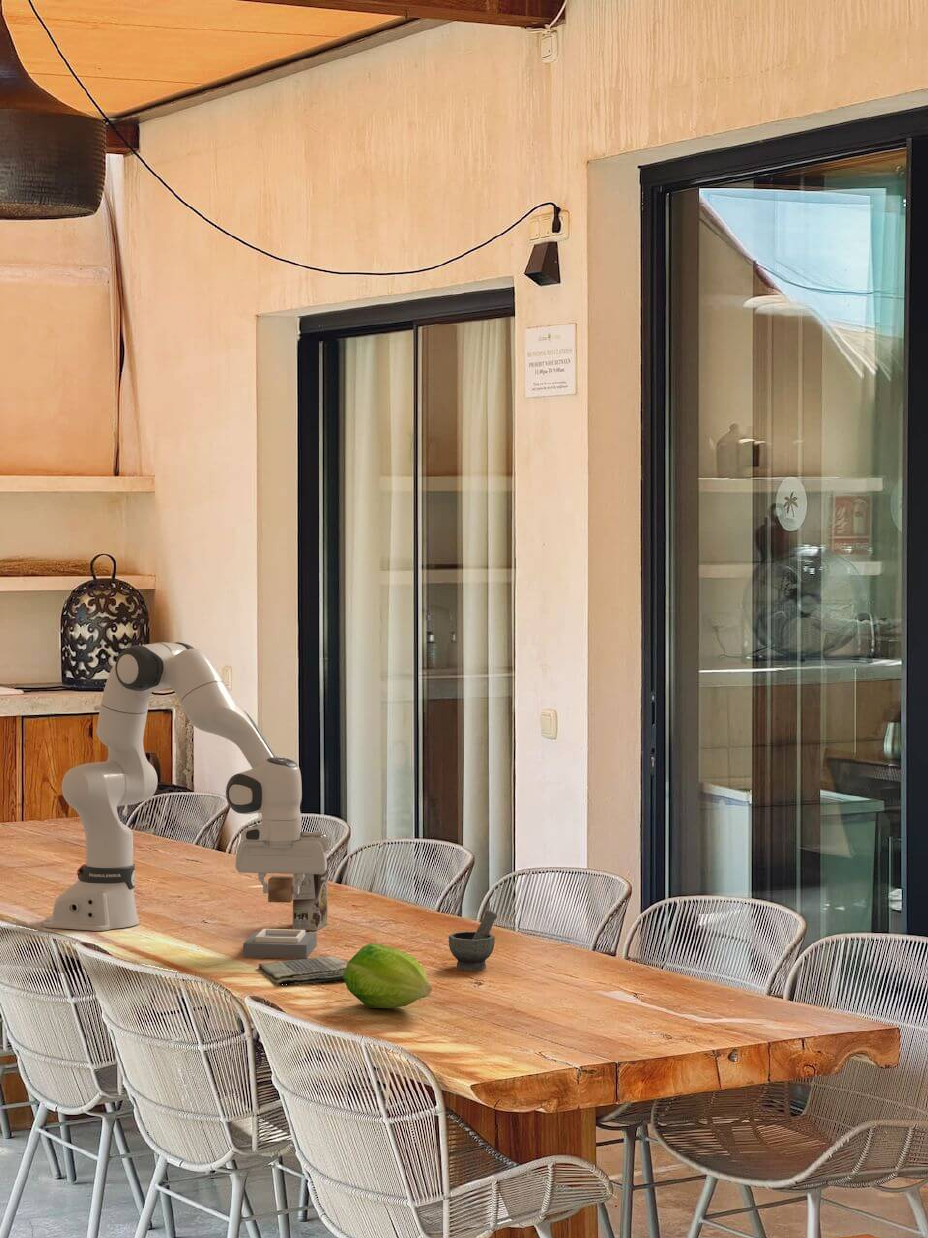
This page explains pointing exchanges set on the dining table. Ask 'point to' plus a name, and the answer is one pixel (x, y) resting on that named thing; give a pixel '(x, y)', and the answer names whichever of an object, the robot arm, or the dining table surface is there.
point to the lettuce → (386, 977)
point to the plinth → (280, 944)
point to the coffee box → (311, 902)
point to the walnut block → (280, 889)
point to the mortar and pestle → (474, 945)
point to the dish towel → (305, 971)
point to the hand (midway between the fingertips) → (281, 893)
